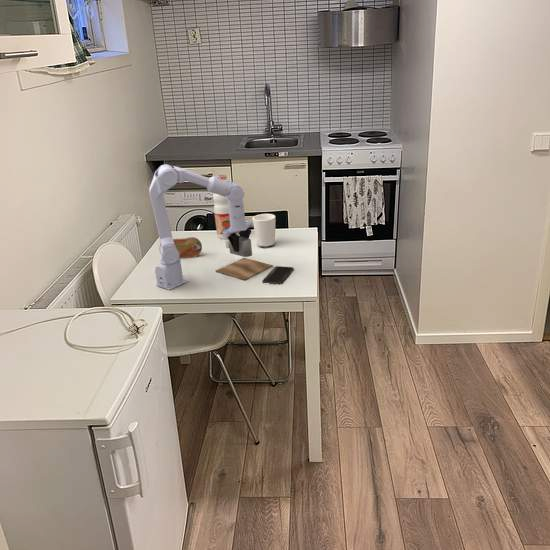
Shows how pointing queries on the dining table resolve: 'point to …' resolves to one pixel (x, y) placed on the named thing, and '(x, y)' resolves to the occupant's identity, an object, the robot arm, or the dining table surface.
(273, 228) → the cup
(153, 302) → the dining table surface
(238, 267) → the board
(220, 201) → the fruit juice
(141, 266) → the dining table surface
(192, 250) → the tin
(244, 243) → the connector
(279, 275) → the phone
